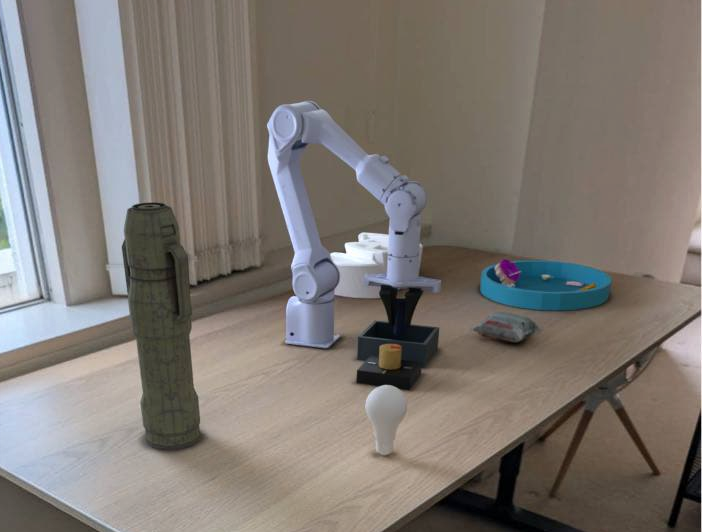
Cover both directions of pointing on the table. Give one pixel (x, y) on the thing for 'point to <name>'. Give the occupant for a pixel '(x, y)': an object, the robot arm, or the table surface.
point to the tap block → (389, 374)
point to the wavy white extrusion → (363, 265)
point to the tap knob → (390, 356)
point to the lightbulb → (385, 415)
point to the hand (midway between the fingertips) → (399, 325)
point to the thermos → (161, 324)
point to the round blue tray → (545, 285)
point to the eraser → (399, 317)
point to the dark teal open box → (399, 341)
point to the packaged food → (506, 327)
